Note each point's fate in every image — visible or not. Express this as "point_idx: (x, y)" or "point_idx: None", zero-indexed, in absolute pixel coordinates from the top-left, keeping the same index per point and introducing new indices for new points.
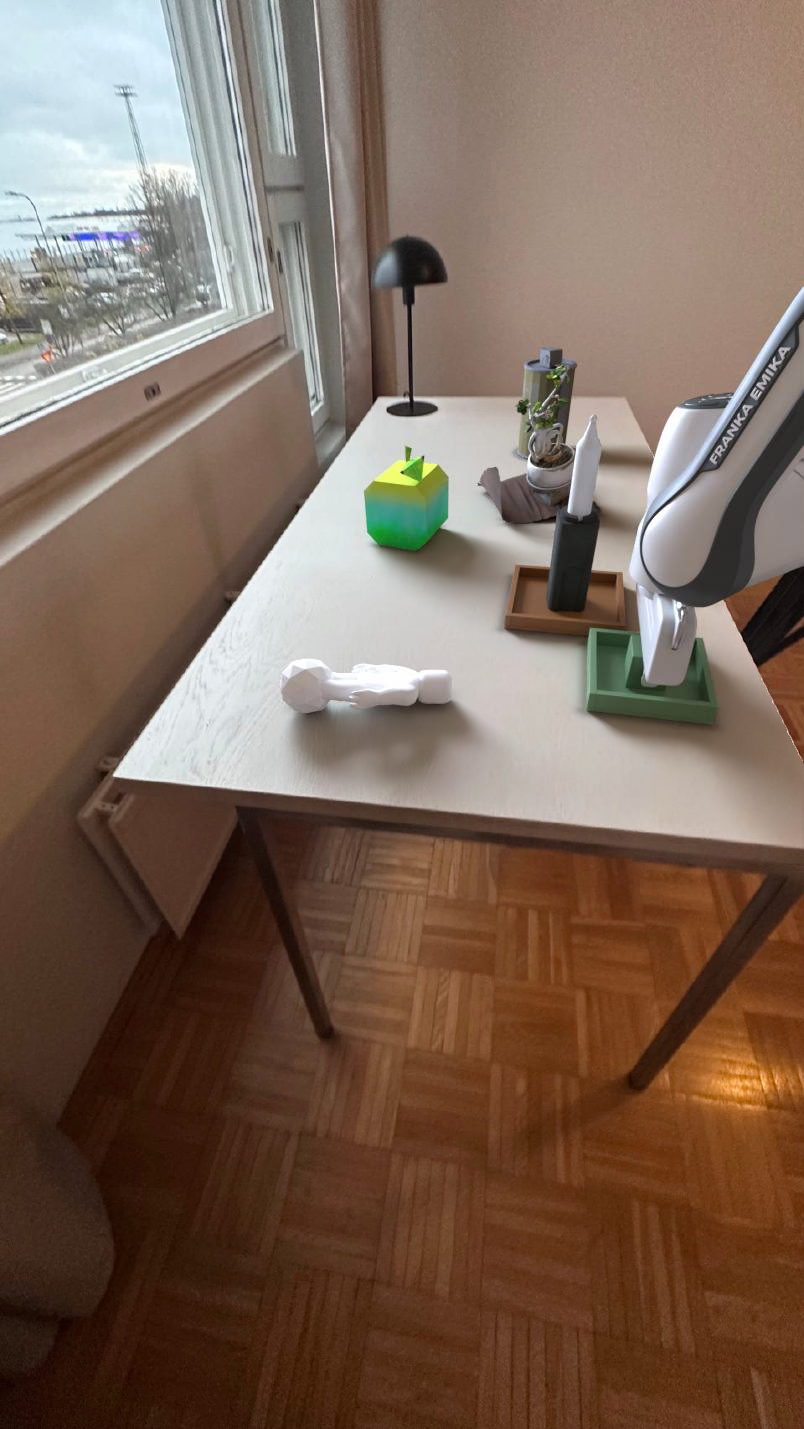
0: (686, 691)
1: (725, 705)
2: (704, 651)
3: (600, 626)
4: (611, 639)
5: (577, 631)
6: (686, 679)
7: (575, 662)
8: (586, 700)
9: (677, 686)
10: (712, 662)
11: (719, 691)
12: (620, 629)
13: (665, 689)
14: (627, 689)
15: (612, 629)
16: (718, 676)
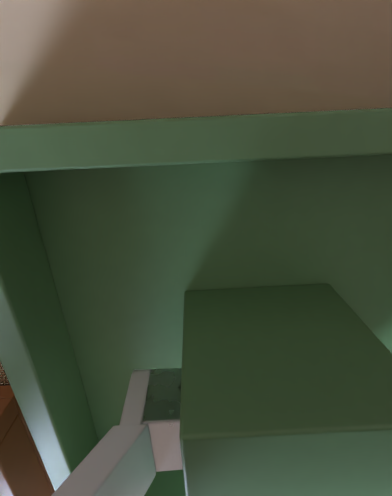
0: (326, 207)
1: (382, 20)
2: (77, 135)
3: (21, 483)
4: (85, 453)
5: (52, 490)
6: (240, 202)
7: None
8: None
9: (293, 239)
10: (29, 52)
11: (273, 40)
12: (2, 432)
13: (332, 287)
14: None
15: (13, 448)
16: (147, 31)
